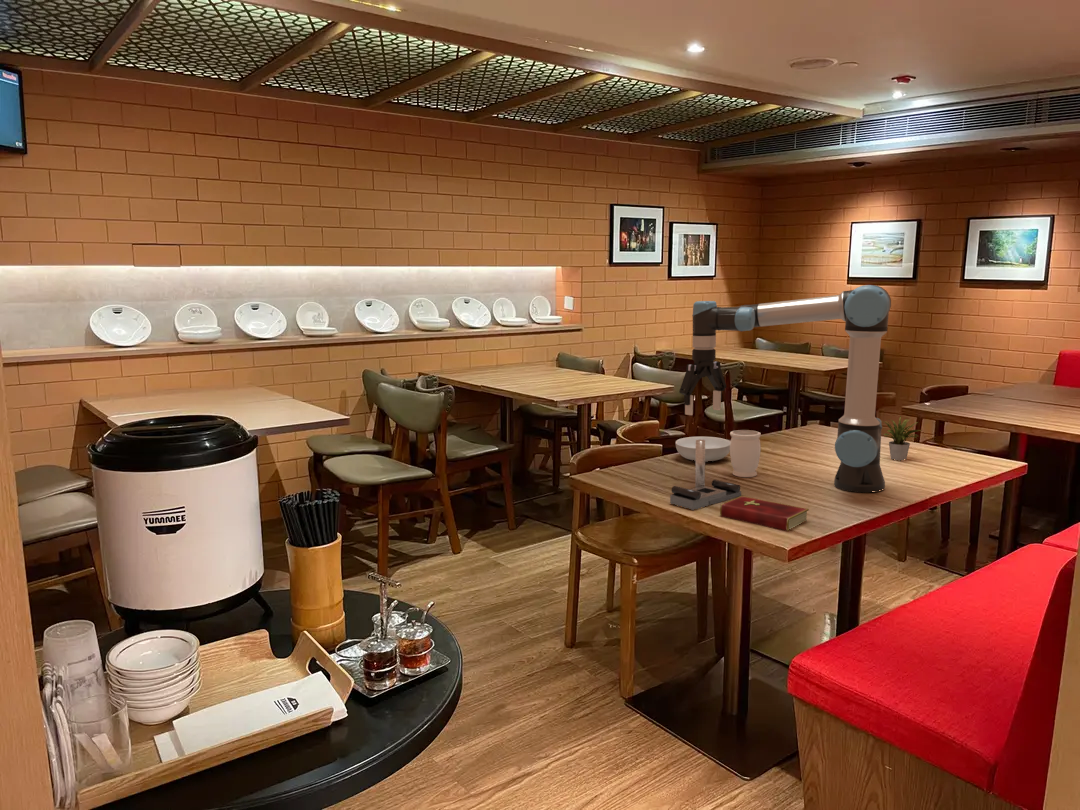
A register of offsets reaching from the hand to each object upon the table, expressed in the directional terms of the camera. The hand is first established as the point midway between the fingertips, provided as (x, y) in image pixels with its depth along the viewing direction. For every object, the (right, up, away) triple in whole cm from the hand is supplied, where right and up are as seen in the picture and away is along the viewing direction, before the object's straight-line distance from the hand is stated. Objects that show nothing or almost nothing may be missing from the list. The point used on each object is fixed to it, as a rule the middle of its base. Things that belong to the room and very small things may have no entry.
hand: (703, 412), depth 254 cm
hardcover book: (+10, -31, -36) cm, 48 cm away
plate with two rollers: (-2, -27, -16) cm, 32 cm away
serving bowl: (+8, -19, +37) cm, 42 cm away
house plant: (+77, -18, +28) cm, 84 cm away
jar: (+17, -22, +13) cm, 31 cm away
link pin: (-2, -25, -3) cm, 25 cm away
